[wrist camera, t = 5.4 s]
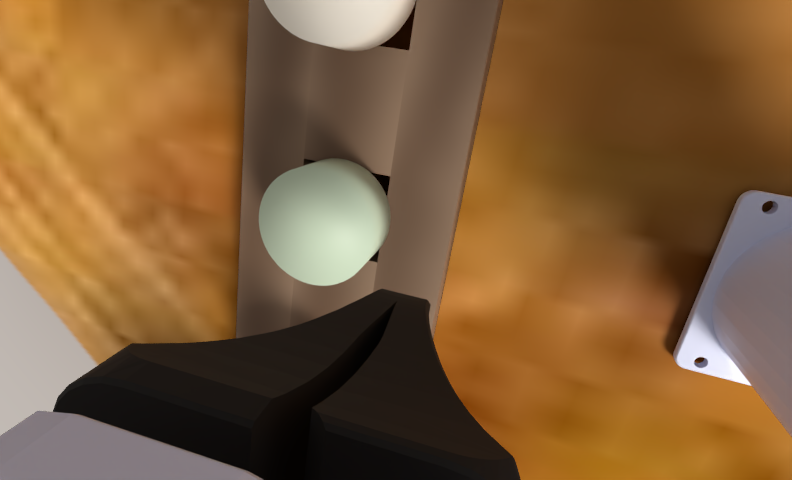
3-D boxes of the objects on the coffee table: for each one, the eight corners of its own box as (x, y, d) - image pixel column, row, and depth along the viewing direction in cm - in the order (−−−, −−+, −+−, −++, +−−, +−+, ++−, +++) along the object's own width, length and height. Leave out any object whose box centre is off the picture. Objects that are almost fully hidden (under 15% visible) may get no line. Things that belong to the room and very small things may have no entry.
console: (538, -173, 16) (540, -207, 15) (406, 469, 26) (397, 497, 25) (284, -186, 18) (257, -217, 16) (251, 417, 28) (231, 439, 27)
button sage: (408, 164, 21) (381, 181, 17) (392, 262, 22) (363, 298, 18) (310, 144, 22) (262, 155, 18) (301, 239, 23) (255, 269, 19)
